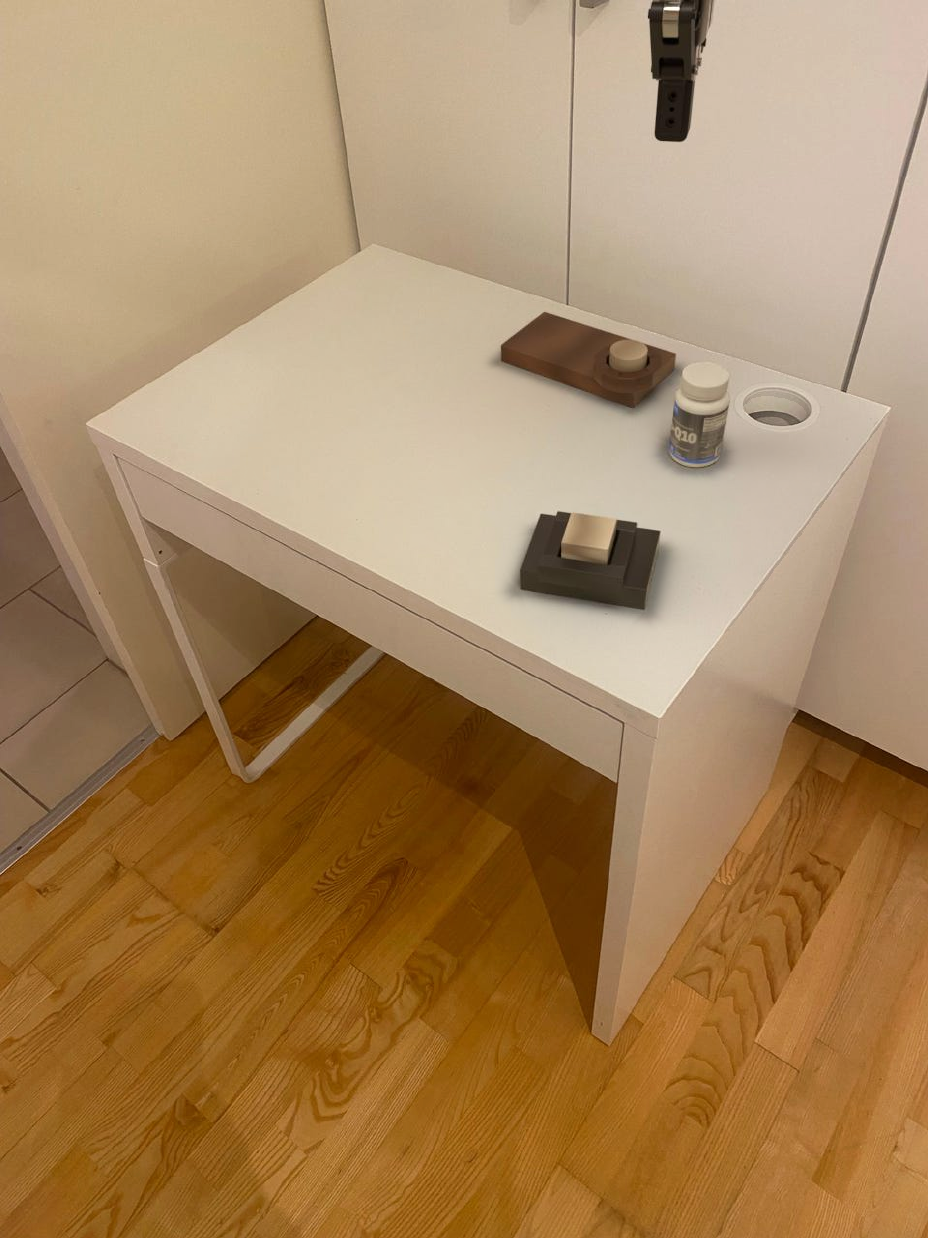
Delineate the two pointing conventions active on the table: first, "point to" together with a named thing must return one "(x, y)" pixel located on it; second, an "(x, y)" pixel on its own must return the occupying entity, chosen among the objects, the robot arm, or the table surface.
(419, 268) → the table surface
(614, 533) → the near key
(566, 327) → the brown flat piece
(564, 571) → the key box
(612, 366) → the far key
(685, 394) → the pill bottle
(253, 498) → the table surface
